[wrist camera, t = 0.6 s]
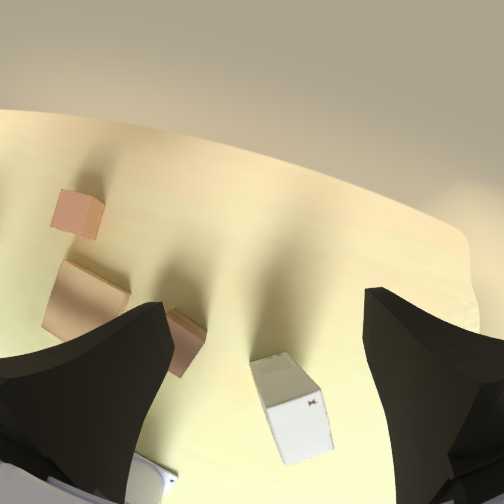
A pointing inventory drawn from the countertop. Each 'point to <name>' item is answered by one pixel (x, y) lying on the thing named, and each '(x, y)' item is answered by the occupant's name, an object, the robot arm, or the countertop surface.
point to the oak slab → (81, 302)
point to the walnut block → (184, 341)
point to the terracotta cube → (78, 214)
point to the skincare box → (292, 408)
